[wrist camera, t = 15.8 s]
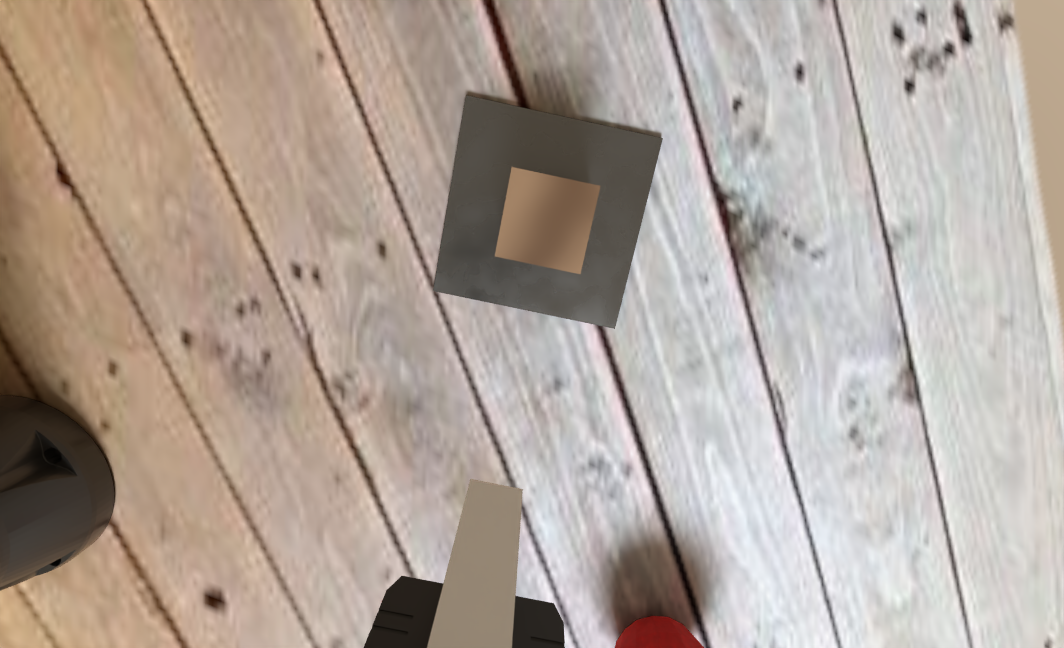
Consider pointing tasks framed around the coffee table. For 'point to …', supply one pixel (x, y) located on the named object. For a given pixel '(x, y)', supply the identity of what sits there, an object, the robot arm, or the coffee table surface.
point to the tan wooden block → (546, 220)
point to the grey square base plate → (559, 150)
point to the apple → (657, 634)
